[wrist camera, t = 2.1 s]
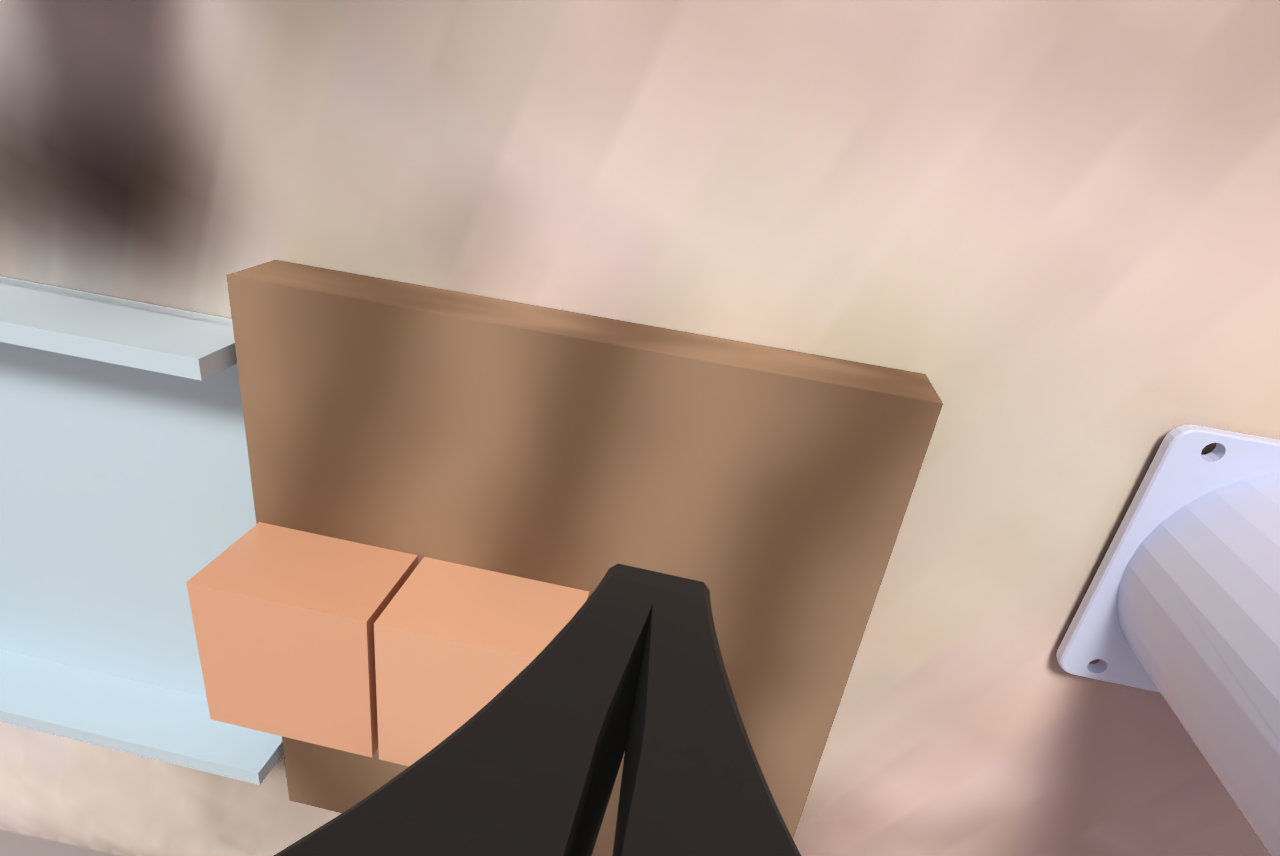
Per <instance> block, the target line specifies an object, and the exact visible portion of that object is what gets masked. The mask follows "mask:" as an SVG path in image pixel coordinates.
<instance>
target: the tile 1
mask: <svg viewBox="0 0 1280 856" xmlns="http://www.w3.org/2000/svg"><path fill="white" fill-rule="evenodd" d="M417 566H418V555H413V554H408V553H404V552H399V551H394V550H390V549H385V548H380V547H375V546H371V545H366V544H361V543H356V542H352V541H347V540H342V539H337V538H333V537H328V536H323V535H318V534H314V533H309V532H304V531H299V530H295V529H290V528H285V527H280V526H276V525H271V524H266V523H261V522H259V523H257V524H256V525H255V526H254V527H253V528H251V529H250V530H249V531H248V532H247V533H245V534H244V535H243V536H242V537H241V538H239V539H238V540H237V541H236V542H234V543H233V544H232V545H231V546H230V547H228V548H227V549H226V550H225V551H224V552H222V553H221V554H220V555H219V556H217V557H216V558H215V559H214V560H213V561H211V562H210V563H209V564H208V565H207V566H205V567H204V568H203V569H202V570H200V571H199V572H198V573H197V574H196V575H194V576H193V577H192V578H191V579H190V580H188V581H187V582H186V584H187V589H188V595H189V601H190V606H191V612H192V618H193V623H194V629H195V635H196V640H197V646H198V651H199V657H200V663H201V668H202V674H203V680H204V685H205V691H206V697H207V702H208V708H209V713H210V719H212V720H216V721H220V722H224V723H228V724H233V725H237V726H241V727H245V728H249V729H254V730H258V731H262V732H266V733H270V734H275V735H279V736H283V737H287V738H291V739H296V740H300V741H304V742H308V743H312V744H317V745H321V746H325V747H329V748H333V749H338V750H342V751H346V752H350V753H354V754H359V755H363V756H367V757H371V758H372V757H373V756H374V754H375V752H376V751H377V749H378V722H377V696H376V669H375V643H374V623H375V621H376V620H377V619H378V617H379V616H380V615H381V613H382V612H383V611H384V609H385V608H386V607H387V605H388V604H389V603H390V601H391V600H392V599H393V597H394V596H395V595H396V593H397V592H398V591H399V590H400V588H401V587H402V586H403V584H404V583H405V582H406V580H407V579H408V578H409V576H410V575H411V574H412V572H413V571H414V570H415V568H416V567H417Z"/></svg>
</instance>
